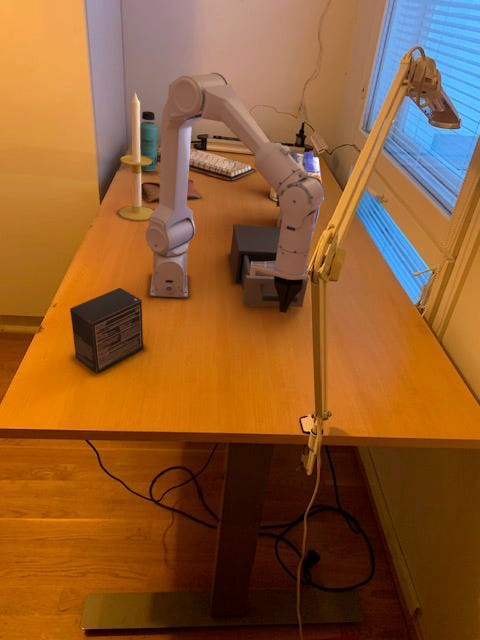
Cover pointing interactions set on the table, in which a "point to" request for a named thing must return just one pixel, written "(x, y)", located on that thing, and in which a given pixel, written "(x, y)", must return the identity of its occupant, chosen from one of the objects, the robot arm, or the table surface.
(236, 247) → the drawer cabinet
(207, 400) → the table surface
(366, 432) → the table surface
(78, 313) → the small box
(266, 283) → the dish drawer
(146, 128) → the beverage bottle
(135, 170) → the candle
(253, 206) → the table surface
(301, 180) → the robot arm
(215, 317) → the table surface
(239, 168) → the mechanical keyboard
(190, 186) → the sunglasses case
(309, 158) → the lunch box
